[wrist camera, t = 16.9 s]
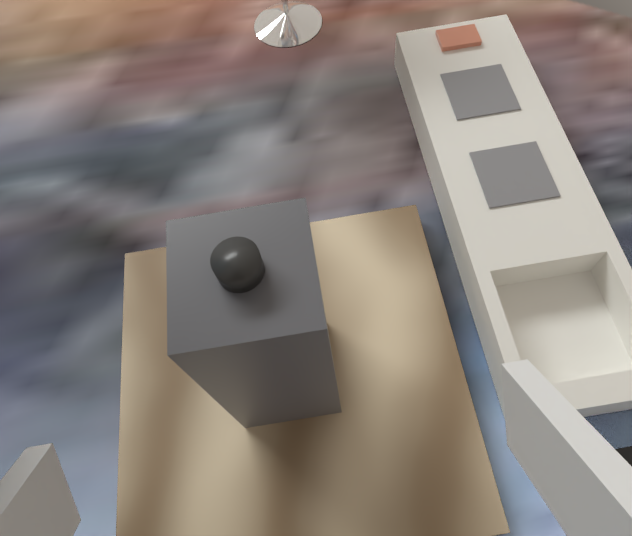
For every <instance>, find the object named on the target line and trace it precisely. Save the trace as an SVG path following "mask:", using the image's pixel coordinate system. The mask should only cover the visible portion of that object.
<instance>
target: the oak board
mask: <svg viewBox="0 0 632 536" xmlns="http://www.w3.org/2000/svg"><path fill="white" fill-rule="evenodd" d="M310 227H311V233H312V239H313V245H314V251H315V256H316V262H317V268H318V274H319V280H320V286H321V291H322V297H323V303H324V309H325V315H326V321H327V326H328V333H329V339H330V345H331V351H332V357H333V363H334V369H335V375H336V381H337V387H338V393H339V399H340V405H341V411H342V412H341V413H335V414H328V415H322V416H316V417H310V418H304V419H298V420H292V421H286V422H280V423H274V424H268V425H262V426H256V427H250V428H245V427H243V426H242V425H241V424H240V423H239V422H238V421H237V420H236V419H235V418H234V417H233V416H232V415H231V414H229V413H228V412H227V411H226V410H225V409H224V408H223V407H222V406H221V405H220V404H219V403H218V402H217V401H216V400H214V399H213V398H212V397H211V396H210V395H209V394H208V393H207V392H206V391H205V390H204V389H203V388H202V387H201V386H199V385H198V384H197V383H196V382H195V381H194V380H193V379H192V378H191V377H190V376H189V375H188V374H187V373H186V372H184V371H183V370H182V369H181V368H180V367H179V366H178V365H177V364H176V363H175V362H174V361H173V360H172V359H170V358H169V357H168V356H167V275H166V247H163V248H157V249H151V250H145V251H139V252H133V253H127V254H125V271H124V302H123V333H122V365H121V396H120V427H119V459H118V490H117V521H116V536H493V535H499V534H505V533H510V530H509V527H508V523H507V520H506V516H505V513H504V509H503V506H502V503H501V499H500V496H499V492H498V489H497V485H496V482H495V478H494V475H493V471H492V468H491V464H490V461H489V457H488V454H487V450H486V447H485V443H484V440H483V437H482V433H481V430H480V426H479V423H478V419H477V416H476V412H475V409H474V405H473V402H472V398H471V395H470V391H469V388H468V384H467V381H466V377H465V374H464V371H463V367H462V364H461V360H460V357H459V353H458V350H457V346H456V343H455V339H454V336H453V332H452V329H451V325H450V322H449V318H448V315H447V311H446V308H445V305H444V301H443V298H442V294H441V291H440V287H439V284H438V280H437V277H436V273H435V270H434V266H433V263H432V259H431V256H430V252H429V249H428V245H427V242H426V239H425V235H424V232H423V228H422V225H421V221H420V218H419V214H418V211H417V207H416V205H412V206H406V207H400V208H394V209H388V210H382V211H376V212H370V213H364V214H358V215H352V216H346V217H340V218H334V219H329V220H323V221H317V222H311V223H310Z"/></svg>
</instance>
